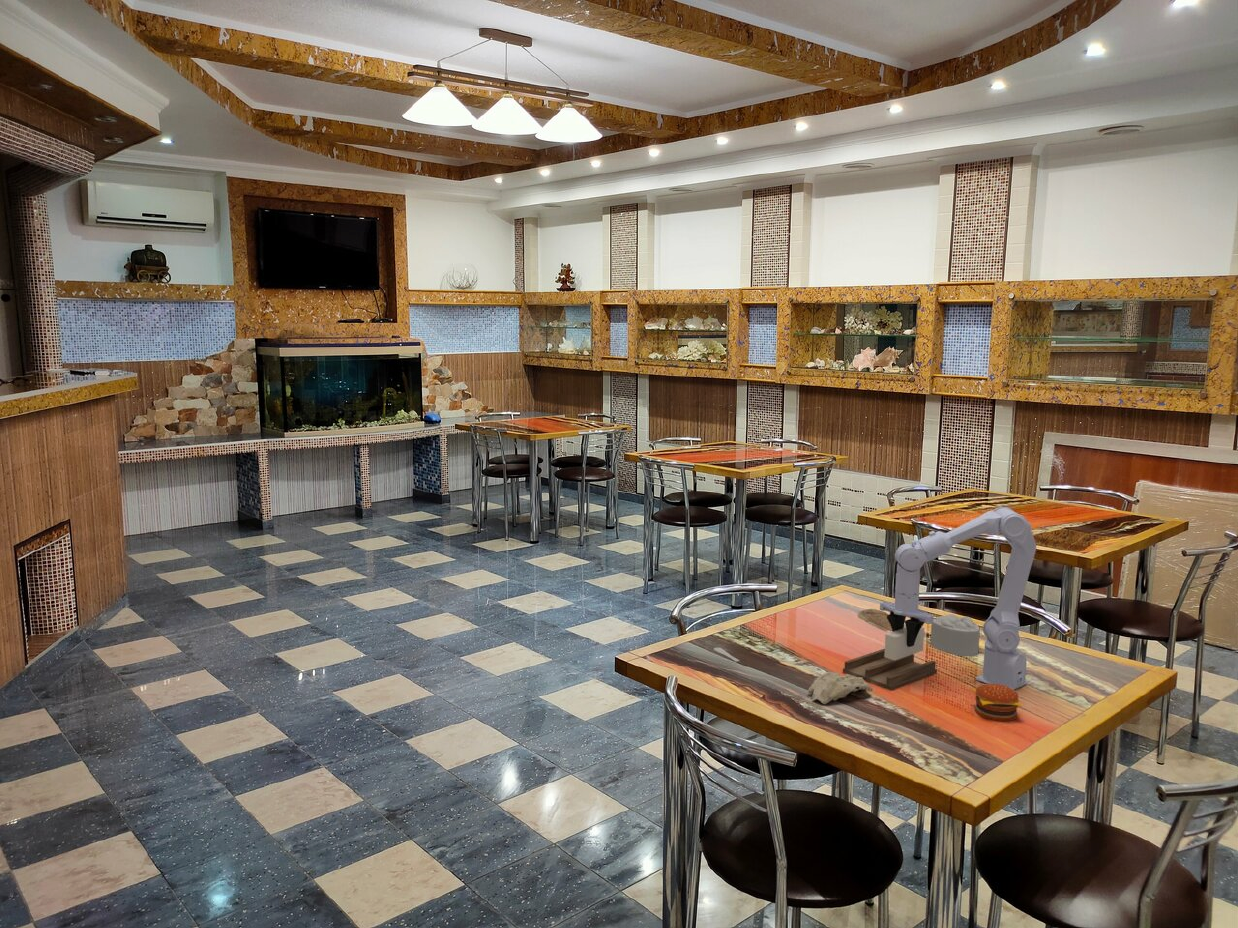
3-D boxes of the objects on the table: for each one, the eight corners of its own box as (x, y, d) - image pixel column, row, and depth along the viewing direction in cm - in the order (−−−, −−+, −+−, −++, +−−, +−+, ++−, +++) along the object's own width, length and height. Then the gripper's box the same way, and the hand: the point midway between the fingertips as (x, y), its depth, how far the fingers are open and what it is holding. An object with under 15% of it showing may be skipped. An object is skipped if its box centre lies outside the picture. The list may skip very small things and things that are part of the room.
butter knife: (720, 646, 250) (711, 648, 249) (769, 675, 229) (760, 677, 227) (720, 648, 250) (711, 649, 249) (769, 677, 229) (760, 679, 227)
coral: (819, 706, 210) (820, 685, 210) (798, 687, 222) (799, 667, 221) (879, 702, 213) (880, 681, 213) (855, 683, 225) (856, 663, 224)
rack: (936, 673, 231) (937, 662, 230) (891, 690, 220) (892, 678, 219) (888, 656, 243) (888, 646, 242) (842, 672, 231) (843, 661, 231)
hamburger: (968, 704, 212) (970, 677, 211) (1010, 706, 211) (1012, 679, 210) (980, 721, 202) (982, 693, 201) (1024, 723, 202) (1026, 695, 201)
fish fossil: (927, 637, 260) (927, 633, 259) (897, 643, 257) (897, 639, 256) (876, 609, 284) (876, 606, 284) (848, 615, 281) (848, 611, 281)
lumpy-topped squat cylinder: (952, 638, 257) (954, 609, 256) (988, 653, 246) (990, 622, 244) (925, 644, 253) (926, 614, 252) (960, 659, 241) (962, 628, 240)
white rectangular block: (923, 650, 229) (924, 627, 228) (894, 660, 222) (895, 637, 221) (912, 647, 232) (914, 624, 231) (884, 656, 225) (885, 634, 224)
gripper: (873, 588, 228) (871, 639, 230) (922, 601, 217) (919, 655, 219) (890, 583, 232) (887, 633, 234) (939, 596, 221) (936, 649, 223)
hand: (904, 643), depth 227 cm, fingers closed on white rectangular block, 3 cm apart
